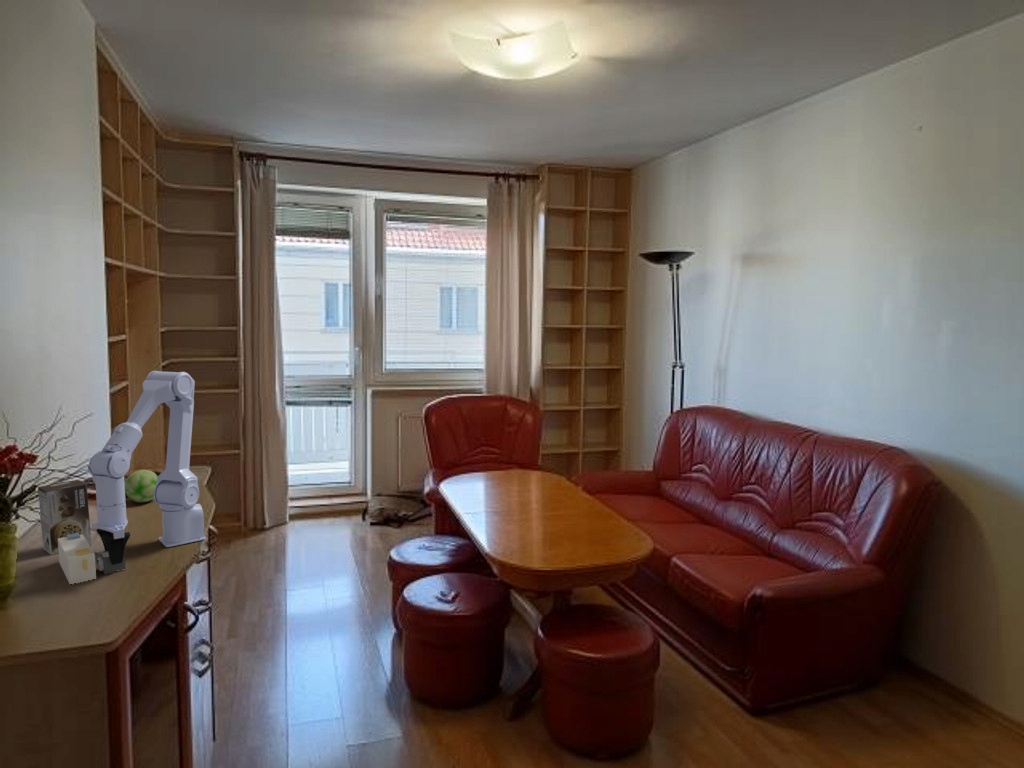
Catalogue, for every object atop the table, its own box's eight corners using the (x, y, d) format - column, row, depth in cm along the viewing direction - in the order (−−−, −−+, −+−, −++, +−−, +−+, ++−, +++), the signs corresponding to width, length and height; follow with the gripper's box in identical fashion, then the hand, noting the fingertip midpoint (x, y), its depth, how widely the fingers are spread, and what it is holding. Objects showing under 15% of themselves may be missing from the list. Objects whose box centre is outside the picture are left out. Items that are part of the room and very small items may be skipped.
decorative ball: (130, 508, 205) (128, 475, 204) (121, 501, 213) (119, 469, 211) (166, 502, 212) (164, 470, 211) (156, 495, 219) (154, 464, 218)
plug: (121, 564, 163) (120, 548, 162) (125, 570, 160) (124, 553, 159) (97, 570, 159) (96, 553, 159) (100, 575, 156) (99, 558, 156)
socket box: (82, 556, 167) (81, 530, 167) (97, 581, 153) (95, 552, 152) (58, 561, 164) (56, 534, 163) (71, 587, 150) (68, 557, 149)
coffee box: (82, 539, 179) (78, 478, 177) (92, 545, 175) (88, 483, 173) (41, 549, 172) (37, 486, 170) (50, 555, 168) (46, 490, 166)
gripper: (85, 499, 161) (89, 555, 163) (97, 514, 150) (100, 574, 152) (119, 494, 166) (122, 548, 167) (133, 508, 155) (136, 566, 156)
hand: (114, 560), depth 160 cm, fingers closed on plug, 4 cm apart
